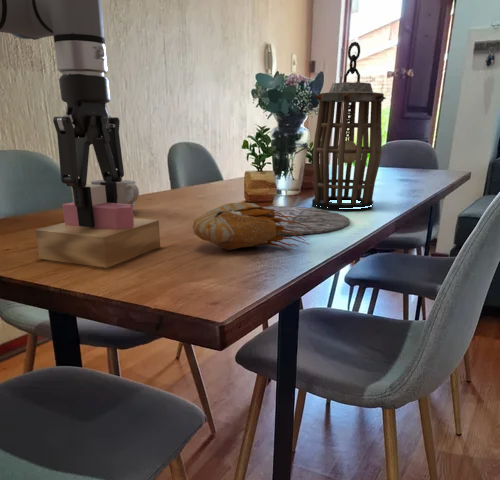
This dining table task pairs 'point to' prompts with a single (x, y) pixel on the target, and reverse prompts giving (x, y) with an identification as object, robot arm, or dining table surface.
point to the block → (97, 243)
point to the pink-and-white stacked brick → (102, 211)
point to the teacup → (124, 191)
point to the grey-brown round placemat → (309, 220)
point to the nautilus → (242, 226)
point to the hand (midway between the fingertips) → (99, 222)
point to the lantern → (347, 143)
